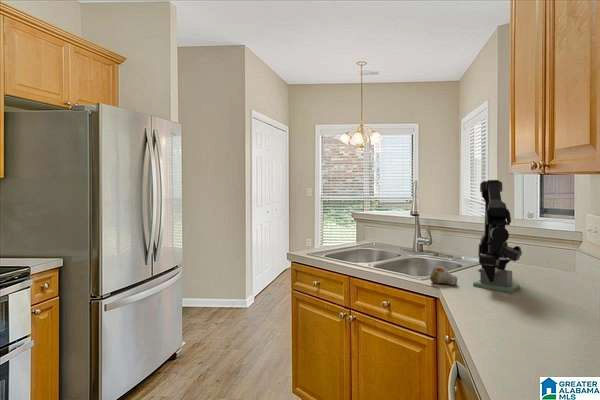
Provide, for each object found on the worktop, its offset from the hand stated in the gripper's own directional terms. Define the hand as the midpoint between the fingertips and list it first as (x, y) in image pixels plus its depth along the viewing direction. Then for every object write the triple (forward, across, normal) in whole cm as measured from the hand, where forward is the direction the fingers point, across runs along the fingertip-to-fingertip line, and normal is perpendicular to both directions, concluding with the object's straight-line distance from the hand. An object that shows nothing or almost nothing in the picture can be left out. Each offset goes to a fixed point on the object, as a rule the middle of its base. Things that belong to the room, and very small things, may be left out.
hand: (496, 279), depth 175 cm
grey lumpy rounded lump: (+3, -8, +17) cm, 19 cm away
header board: (+3, 0, 0) cm, 3 cm away
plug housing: (+1, 0, 0) cm, 1 cm away
